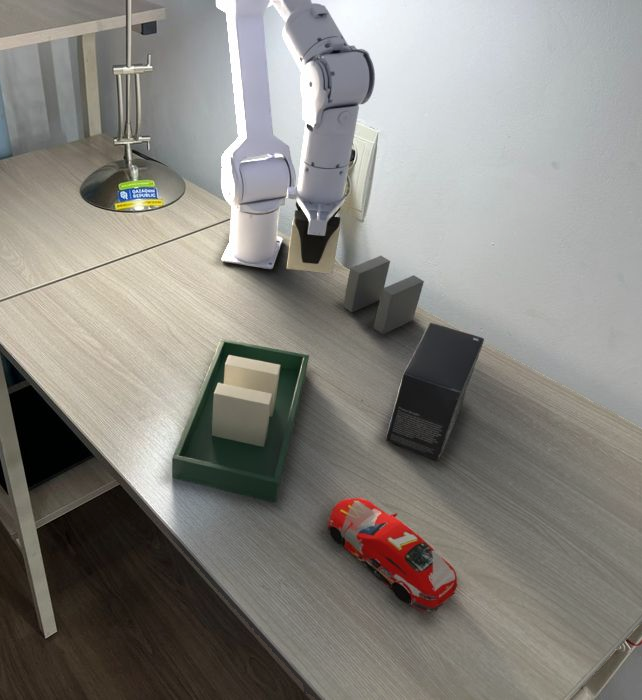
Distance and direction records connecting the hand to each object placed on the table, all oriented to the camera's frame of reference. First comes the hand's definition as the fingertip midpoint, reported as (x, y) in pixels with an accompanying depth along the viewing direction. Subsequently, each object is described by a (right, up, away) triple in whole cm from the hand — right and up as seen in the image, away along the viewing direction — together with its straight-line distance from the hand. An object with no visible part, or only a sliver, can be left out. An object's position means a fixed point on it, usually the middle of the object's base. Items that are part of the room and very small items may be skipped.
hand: (310, 257), depth 91 cm
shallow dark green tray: (-10, -21, -10) cm, 25 cm away
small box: (+11, -21, -10) cm, 26 cm away
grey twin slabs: (+11, -7, +6) cm, 14 cm away
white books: (-10, -21, -10) cm, 25 cm away
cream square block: (0, -1, +1) cm, 2 cm away
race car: (+3, -32, -24) cm, 41 cm away
